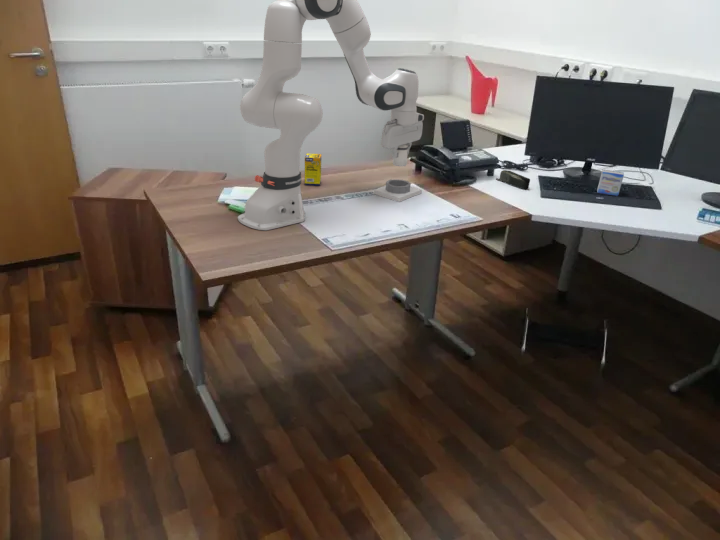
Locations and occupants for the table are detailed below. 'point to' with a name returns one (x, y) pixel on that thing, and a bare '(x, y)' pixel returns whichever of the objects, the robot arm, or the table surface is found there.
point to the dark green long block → (514, 179)
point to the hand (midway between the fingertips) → (400, 156)
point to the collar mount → (397, 190)
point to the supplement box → (313, 169)
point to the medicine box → (610, 182)
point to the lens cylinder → (401, 156)
